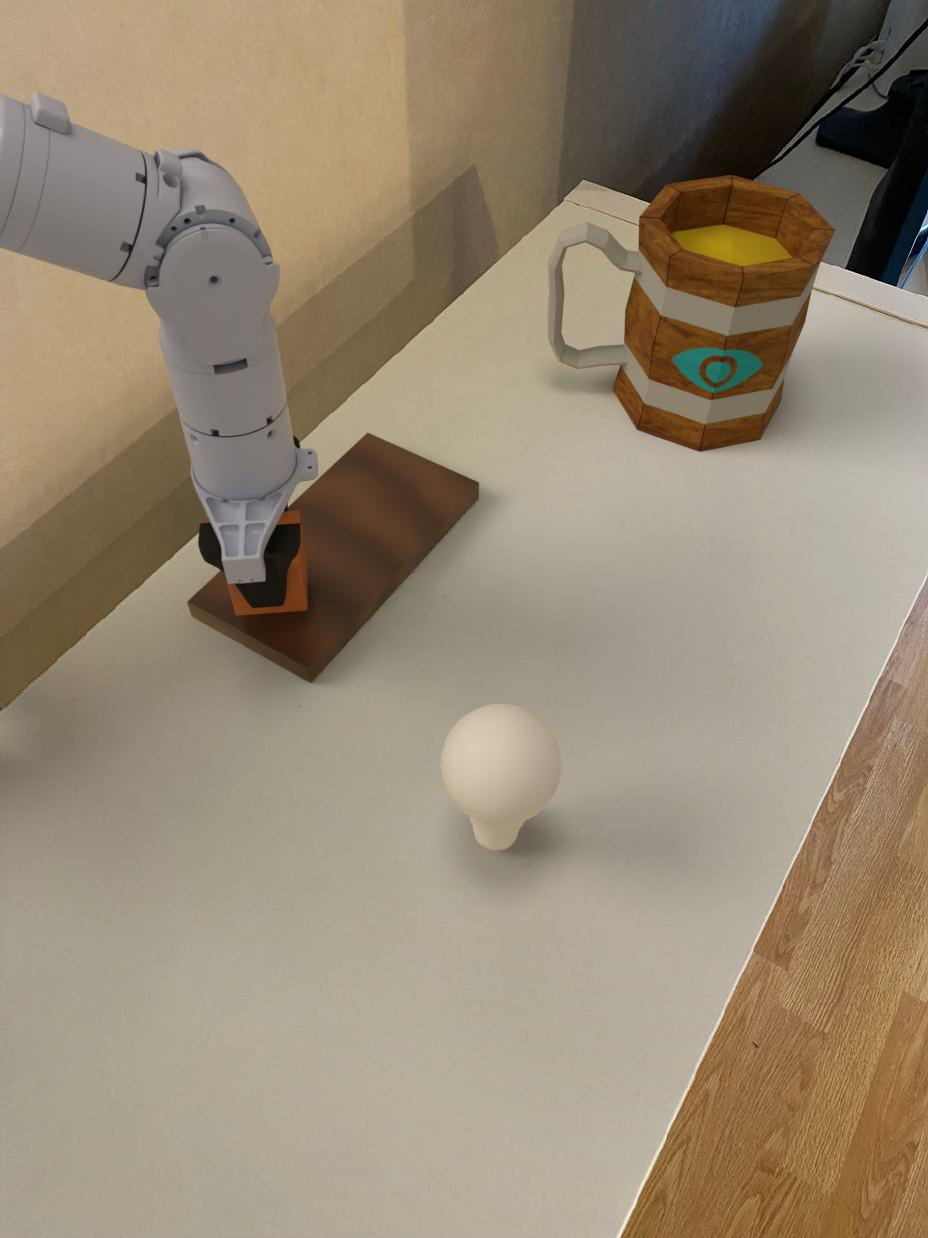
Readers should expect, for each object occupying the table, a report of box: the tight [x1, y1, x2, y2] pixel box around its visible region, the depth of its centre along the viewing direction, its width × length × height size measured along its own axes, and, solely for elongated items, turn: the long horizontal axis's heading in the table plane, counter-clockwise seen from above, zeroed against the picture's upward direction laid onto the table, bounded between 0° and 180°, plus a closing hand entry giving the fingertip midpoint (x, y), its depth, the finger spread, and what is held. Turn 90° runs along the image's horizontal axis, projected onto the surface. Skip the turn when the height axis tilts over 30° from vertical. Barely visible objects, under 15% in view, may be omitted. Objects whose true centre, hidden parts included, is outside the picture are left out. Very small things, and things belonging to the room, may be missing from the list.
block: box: [225, 511, 308, 616], centre depth 64 cm, size 4×4×4 cm
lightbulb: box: [440, 703, 563, 852], centre depth 53 cm, size 6×6×11 cm
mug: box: [547, 174, 836, 452], centre depth 77 cm, size 20×14×15 cm
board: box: [186, 432, 480, 684], centre depth 70 cm, size 20×10×2 cm, turn 147°
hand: (268, 572), depth 64 cm, fingers closed on block, 4 cm apart
